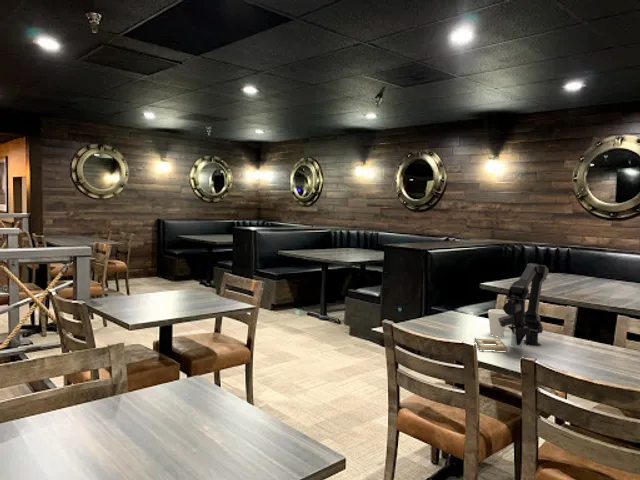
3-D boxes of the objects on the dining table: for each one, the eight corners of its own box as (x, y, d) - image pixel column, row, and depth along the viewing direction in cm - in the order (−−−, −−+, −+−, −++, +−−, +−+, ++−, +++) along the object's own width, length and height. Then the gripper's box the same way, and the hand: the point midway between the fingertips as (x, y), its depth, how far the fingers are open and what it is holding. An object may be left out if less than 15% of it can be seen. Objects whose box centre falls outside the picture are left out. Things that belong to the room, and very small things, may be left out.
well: (474, 342, 241) (474, 337, 241) (499, 343, 240) (499, 338, 240) (480, 351, 228) (480, 346, 227) (506, 352, 226) (506, 347, 226)
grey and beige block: (511, 345, 229) (511, 332, 229) (520, 345, 229) (520, 333, 228) (513, 347, 225) (513, 335, 225) (522, 348, 225) (523, 335, 224)
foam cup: (510, 337, 251) (511, 312, 250) (496, 339, 247) (497, 314, 246) (497, 332, 260) (498, 308, 258) (483, 334, 256) (484, 310, 255)
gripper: (495, 306, 236) (494, 337, 237) (505, 315, 217) (503, 349, 219) (519, 306, 234) (518, 338, 236) (531, 316, 216) (529, 350, 217)
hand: (516, 343), depth 227 cm, fingers closed on grey and beige block, 4 cm apart
